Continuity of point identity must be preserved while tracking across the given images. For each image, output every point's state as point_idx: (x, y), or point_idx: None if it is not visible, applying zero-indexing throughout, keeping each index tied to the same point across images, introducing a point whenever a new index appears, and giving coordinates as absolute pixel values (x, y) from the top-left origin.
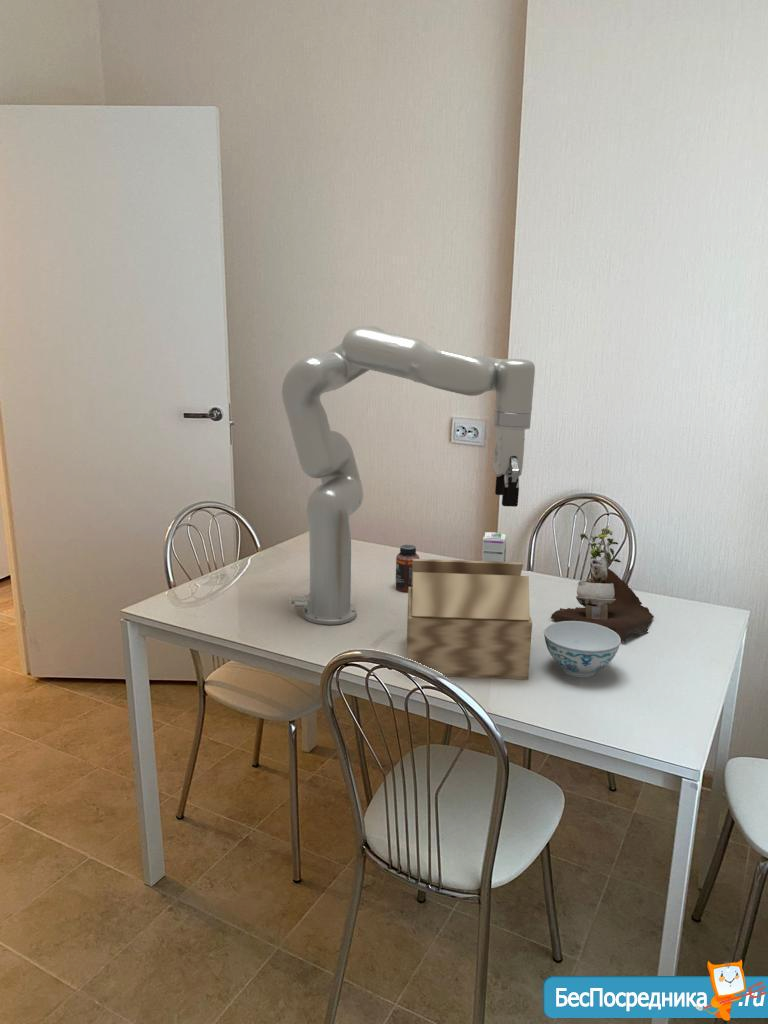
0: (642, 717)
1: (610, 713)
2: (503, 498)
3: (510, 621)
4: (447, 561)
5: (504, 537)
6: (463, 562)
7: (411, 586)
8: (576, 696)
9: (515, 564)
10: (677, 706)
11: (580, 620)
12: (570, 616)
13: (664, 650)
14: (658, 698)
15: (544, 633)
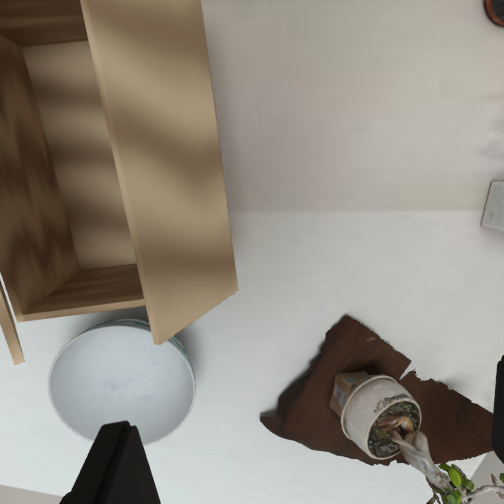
0: (8, 421)
1: (3, 384)
2: (76, 487)
3: (2, 274)
4: (95, 61)
5: None
6: (110, 133)
7: (495, 3)
8: (42, 343)
9: (150, 320)
10: (61, 462)
11: (320, 366)
12: (342, 350)
13: (249, 463)
14: (77, 443)
15: (109, 326)
